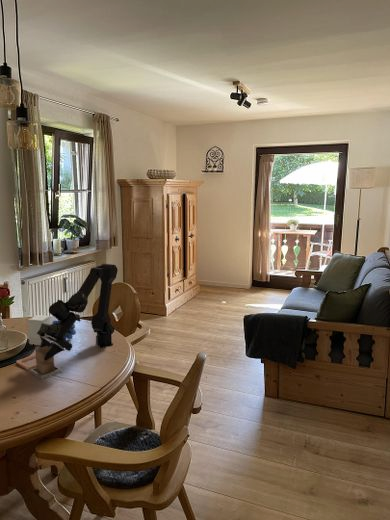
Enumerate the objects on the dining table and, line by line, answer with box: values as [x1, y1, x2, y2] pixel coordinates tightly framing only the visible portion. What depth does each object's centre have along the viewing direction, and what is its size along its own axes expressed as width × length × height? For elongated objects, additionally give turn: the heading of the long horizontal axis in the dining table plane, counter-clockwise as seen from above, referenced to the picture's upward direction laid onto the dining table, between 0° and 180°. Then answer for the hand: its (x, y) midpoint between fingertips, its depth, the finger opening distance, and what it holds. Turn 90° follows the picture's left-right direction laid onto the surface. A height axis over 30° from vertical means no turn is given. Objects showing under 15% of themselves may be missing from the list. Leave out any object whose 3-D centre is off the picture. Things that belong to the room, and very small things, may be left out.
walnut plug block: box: [34, 346, 55, 375], centre depth 158 cm, size 5×5×10 cm
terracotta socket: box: [16, 354, 37, 372], centre depth 167 cm, size 10×10×1 cm
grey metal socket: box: [29, 364, 62, 380], centre depth 159 cm, size 9×9×1 cm
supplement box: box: [27, 314, 51, 346], centre depth 189 cm, size 7×7×13 cm
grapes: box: [51, 319, 77, 340], centre depth 190 cm, size 12×7×12 cm, turn 105°
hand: (41, 358), depth 157 cm, fingers closed on walnut plug block, 5 cm apart
